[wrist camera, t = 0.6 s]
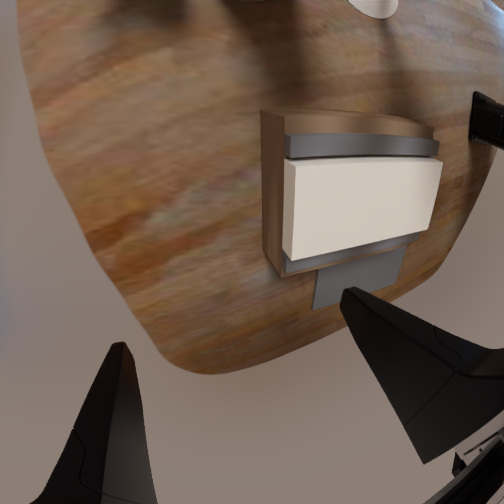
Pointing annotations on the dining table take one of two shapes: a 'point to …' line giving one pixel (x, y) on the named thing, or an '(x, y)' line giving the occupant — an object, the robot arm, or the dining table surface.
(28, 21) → the dining table surface
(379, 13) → the champagne flute
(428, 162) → the cover plate
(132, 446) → the robot arm
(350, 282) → the mat
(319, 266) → the lid box
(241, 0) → the cork
